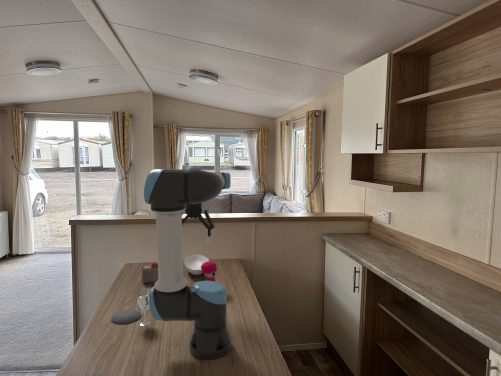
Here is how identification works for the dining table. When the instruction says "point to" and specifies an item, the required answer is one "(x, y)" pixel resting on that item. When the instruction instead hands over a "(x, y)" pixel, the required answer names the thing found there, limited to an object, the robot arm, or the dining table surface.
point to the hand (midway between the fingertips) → (193, 242)
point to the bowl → (195, 263)
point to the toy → (209, 270)
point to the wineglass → (143, 306)
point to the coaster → (126, 316)
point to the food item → (150, 273)
